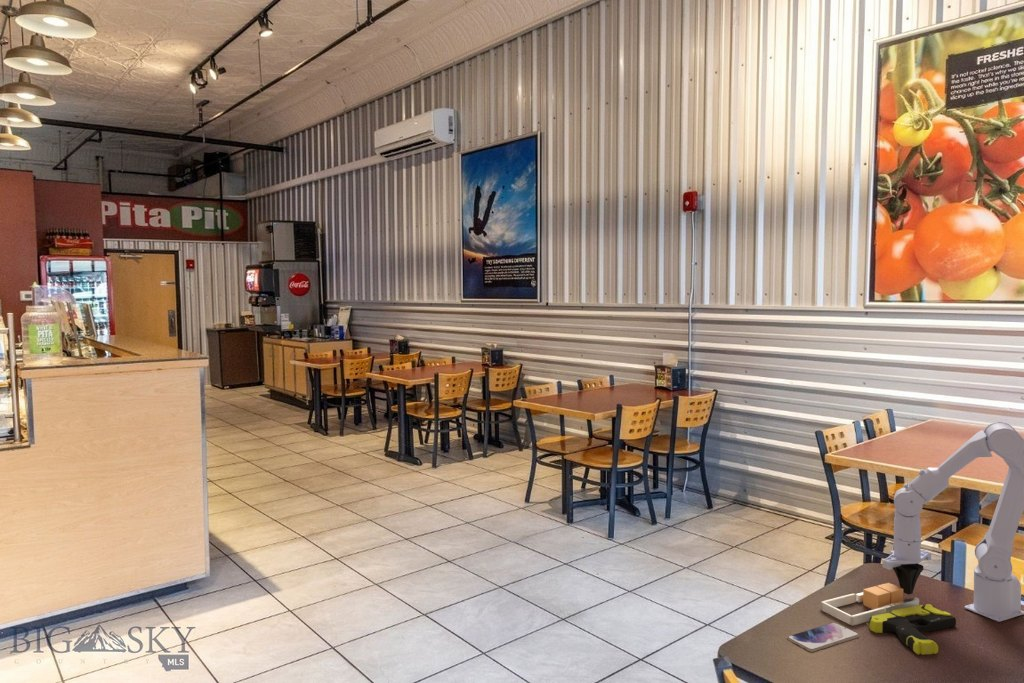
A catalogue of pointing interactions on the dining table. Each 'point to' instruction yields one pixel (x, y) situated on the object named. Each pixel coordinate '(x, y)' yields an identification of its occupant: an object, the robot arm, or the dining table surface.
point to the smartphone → (822, 637)
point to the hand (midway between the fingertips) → (906, 592)
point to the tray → (831, 609)
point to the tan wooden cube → (875, 597)
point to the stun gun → (913, 626)
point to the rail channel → (893, 606)
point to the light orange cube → (893, 592)
